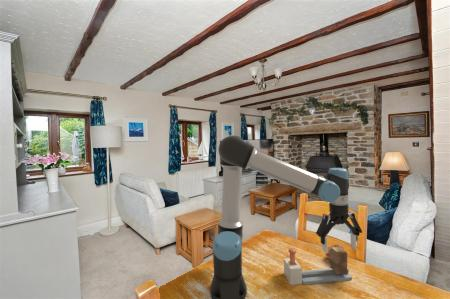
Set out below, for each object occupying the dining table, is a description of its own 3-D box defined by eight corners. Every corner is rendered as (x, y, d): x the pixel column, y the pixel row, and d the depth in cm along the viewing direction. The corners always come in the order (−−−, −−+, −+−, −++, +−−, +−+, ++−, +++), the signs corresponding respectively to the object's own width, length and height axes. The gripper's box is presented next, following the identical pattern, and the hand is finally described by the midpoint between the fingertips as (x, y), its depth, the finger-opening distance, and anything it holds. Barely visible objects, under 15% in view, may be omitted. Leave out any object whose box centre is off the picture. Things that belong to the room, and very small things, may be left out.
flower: (345, 253, 112) (335, 239, 113) (354, 259, 103) (343, 245, 104) (330, 263, 112) (320, 250, 113) (338, 271, 103) (327, 256, 104)
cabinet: (290, 284, 92) (290, 269, 91) (283, 273, 100) (283, 258, 99) (302, 283, 92) (301, 268, 92) (294, 272, 100) (294, 257, 100)
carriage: (336, 273, 94) (336, 252, 93) (329, 266, 99) (329, 246, 98) (347, 272, 94) (347, 251, 94) (340, 265, 99) (340, 245, 99)
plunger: (290, 265, 94) (290, 252, 93) (287, 260, 97) (287, 248, 97) (297, 264, 94) (297, 251, 94) (294, 260, 97) (294, 247, 97)
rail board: (303, 284, 92) (303, 277, 92) (296, 274, 99) (296, 267, 99) (351, 279, 94) (352, 273, 94) (341, 269, 101) (341, 263, 101)
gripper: (316, 207, 90) (316, 256, 91) (371, 203, 92) (371, 251, 93) (307, 202, 97) (308, 247, 99) (359, 198, 100) (359, 242, 101)
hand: (339, 249), depth 96 cm, fingers open, 13 cm apart
